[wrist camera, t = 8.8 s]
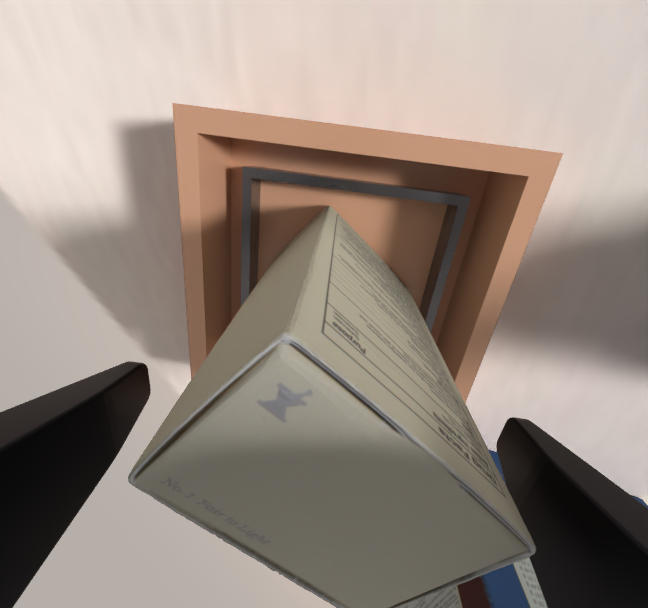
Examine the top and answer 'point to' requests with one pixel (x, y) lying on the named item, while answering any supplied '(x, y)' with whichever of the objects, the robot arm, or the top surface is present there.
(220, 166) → the wooden cubby frame
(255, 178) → the thin grey square frame
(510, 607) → the protein box
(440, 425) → the skincare box
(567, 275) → the top surface
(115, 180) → the top surface
